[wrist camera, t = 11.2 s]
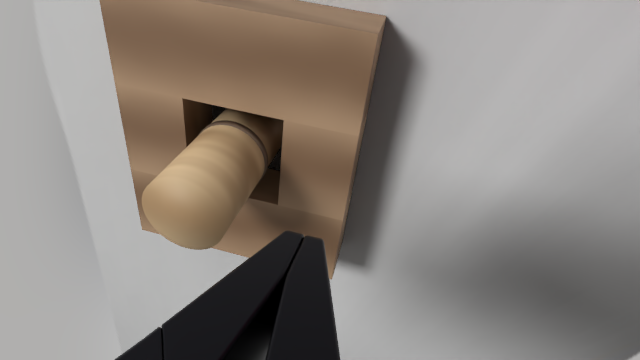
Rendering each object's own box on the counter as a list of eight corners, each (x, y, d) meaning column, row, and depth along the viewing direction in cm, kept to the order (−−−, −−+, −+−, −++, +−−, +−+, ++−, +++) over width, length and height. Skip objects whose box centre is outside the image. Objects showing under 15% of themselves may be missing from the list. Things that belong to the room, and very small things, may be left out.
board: (341, 244, 26) (331, 279, 24) (167, 200, 28) (142, 229, 26) (386, 16, 18) (378, 34, 16) (138, -28, 20) (96, -18, 17)
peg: (284, 162, 24) (227, 259, 18) (224, 148, 24) (147, 238, 18) (288, 103, 22) (225, 189, 15) (222, 89, 22) (134, 167, 16)
